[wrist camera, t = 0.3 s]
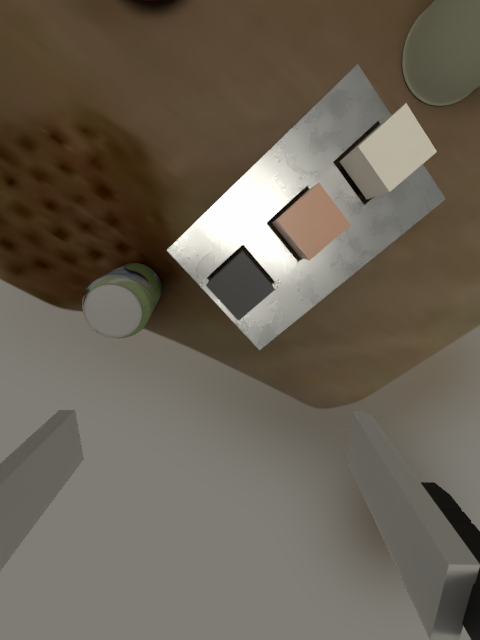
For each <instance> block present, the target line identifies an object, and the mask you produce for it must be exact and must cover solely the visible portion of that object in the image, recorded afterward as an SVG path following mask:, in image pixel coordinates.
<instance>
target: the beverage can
mask: <svg viewBox="0 0 480 640" xmlns="http://www.w3.org/2000/svg"><path fill="white" fill-rule="evenodd" d="M161 291H162V287H161V282H160V279H159V277H158V276H157V274H156V273H155V272H154V271H153V270H152V269H151V268H149V267H148V266H145V265H143V264H139V263H129V264H125V265H123V266H121V267H119V268H117V269H115V270H113V271H111V272H110V273H108V274H106V275H104V276H102V277H100V278H98V279H97V280H95V281H94V282H92V283H91V284H90V285H89V286H88V288H87V289H86V291H85V293H84V295H83V300H82V309H83V314H84V317H85V319H86V321H87V323H88V324H89V326H90V327H91V328H92V329H93V330H94V331H96V332H97V333H99V334H101V335H103V336H106V337H112V338H125V337H129V336H132V335H134V334H136V333H138V332H139V331H141V330H142V329H143V328H144V327H145V325H146V324H147V322H148V320H149V318H150V316H151V314H152V312H153V310H154V308H155V306H156V304H157V302H158V301H159V298H160V296H161Z"/></svg>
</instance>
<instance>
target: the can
mask: <svg viewBox="0 0 480 640" xmlns="http://www.w3.org/2000/svg"><path fill="white" fill-rule="evenodd" d="M402 70H403V76H404V79H405V82H406V84H407V86H408V88H409V90H410V91H411V93H412V94H413V95H414V96H415V97H416V98H417V99H419V100H420V101H422V102H423V103H426V104H429V105H433V106H445V105H450V104H453V103H456V102H458V101H460V100H462V99H463V98H465V97H466V96H468V95H469V94H470V93H471V92H472V91H474V90H475V89H476V88H477V87H479V86H480V0H434V1H433V3H432V4H431V5H430V6H429V7H428V8H427V9H426V10H425V11H424V12H423V13H422V14H421V15H420V16H419V17H418V19H417V20H416V21H415V23H414V24H413V26H412V28H411V29H410V31H409V33H408V36H407V38H406V41H405V44H404V49H403V54H402Z"/></svg>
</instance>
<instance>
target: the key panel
mask: <svg viewBox="0 0 480 640" xmlns="http://www.w3.org/2000/svg"><path fill="white" fill-rule="evenodd" d="M390 116H391V114H390V113H389V111H388V110H387V108H386V107H385V105H384V104H383V102H382V100H381V99H380V97H379V96H378V94H377V93H376V91H375V90H374V88H373V87H372V85H371V84H370V82H369V81H368V79H367V77H366V76H365V74H364V73H363V71H362V70H361V68H360V67H359V65H358V64H357V65H356V66H355V67H354V68H353V69H352V70H351V71H350V72H349V73H348V74H347V75H346V76H345V77H344V78H343V79H342V80H341V81H340V82H339V83H338V84H337V85H336V86H335V87H334V88H333V89H332V90H331V91H330V92H329V93H328V94H327V95H326V96H325V97H323V98H322V99H321V100H320V101H319V102H318V103H317V104H316V105H315V106H314V107H313V108H312V109H311V110H310V111H309V112H308V113H307V114H306V115H305V116H304V117H303V118H302V119H301V120H300V121H299V122H298V123H297V124H296V125H295V126H294V127H293V128H292V129H291V130H290V131H289V132H288V133H286V134H285V135H284V136H283V137H282V138H281V139H280V140H279V141H278V142H277V143H276V144H275V145H274V146H273V147H272V148H271V149H270V150H269V151H268V152H267V153H266V154H265V155H264V156H263V157H262V158H261V159H260V160H259V161H258V162H257V163H256V164H255V165H254V166H253V167H252V168H251V169H250V170H248V171H247V172H246V173H245V174H244V175H243V176H242V177H241V178H240V179H239V180H238V181H237V182H236V183H235V184H234V185H233V186H232V187H231V188H230V189H229V190H228V191H227V192H226V193H225V194H224V195H223V196H222V197H221V198H220V199H219V200H218V201H217V202H216V203H215V204H214V205H213V206H212V207H210V208H209V209H208V210H207V211H206V212H205V213H204V214H203V215H202V216H201V217H200V218H199V219H198V220H197V221H196V222H195V223H194V224H193V225H192V226H191V227H190V228H189V229H188V230H187V231H186V232H185V233H184V234H183V235H182V236H181V237H180V238H179V239H178V240H177V241H176V242H175V243H174V244H172V245H171V246H170V247H169V248H168V249H167V251H168V252H169V253H170V254H171V255H172V257H173V258H174V259H175V260H176V261H177V262H178V263H179V264H180V265H181V266H182V267H183V268H184V269H185V271H186V272H187V273H188V274H189V275H190V276H191V277H192V278H193V279H194V280H195V281H196V282H197V283H198V285H199V286H200V287H201V288H202V289H203V290H204V291H205V292H206V293H207V294H208V295H209V296H210V297H211V299H212V300H213V301H214V302H215V303H216V304H217V305H218V306H219V307H220V308H221V309H222V310H223V311H224V313H225V314H226V315H227V316H228V317H229V318H230V319H231V320H232V321H233V322H234V323H235V324H236V325H237V327H238V328H239V329H240V330H241V331H242V332H243V333H244V334H245V335H246V336H247V337H248V338H249V339H250V341H251V342H252V343H253V344H254V345H255V346H256V347H257V348H258V349H259V350H261V349H262V348H263V347H264V346H265V345H267V344H268V343H269V342H270V341H272V340H273V339H274V338H275V337H277V336H278V335H279V334H280V333H281V332H283V331H284V330H285V329H286V328H288V327H289V326H290V325H291V324H293V323H294V322H295V321H296V320H297V319H299V318H300V317H301V316H302V315H304V314H305V313H306V312H307V311H309V310H310V309H311V308H312V307H313V306H315V305H316V304H317V303H318V302H320V301H321V300H322V299H323V298H325V297H326V296H327V295H328V294H329V293H331V292H332V291H333V290H334V289H336V288H337V287H338V286H339V285H341V284H342V283H343V282H344V281H345V280H347V279H348V278H349V277H350V276H352V275H353V274H354V273H355V272H357V271H358V270H359V269H360V268H361V267H363V266H364V265H365V264H366V263H368V262H369V261H370V260H371V259H373V258H374V257H375V256H376V255H377V254H379V253H380V252H381V251H382V250H384V249H385V248H386V247H387V246H389V245H390V244H391V243H392V242H393V241H395V240H396V239H397V238H398V237H400V236H401V235H402V234H403V233H404V232H406V231H407V230H408V229H409V228H411V227H412V226H413V225H414V224H416V223H417V222H418V221H419V220H420V219H422V218H423V217H424V216H425V215H427V214H428V213H429V212H430V211H432V210H433V209H434V208H435V207H436V206H438V205H439V204H440V203H441V202H443V201H444V200H445V197H444V196H443V194H442V193H441V191H440V190H439V188H438V186H437V185H436V183H435V182H434V180H433V179H432V177H431V176H430V174H429V173H428V171H427V170H426V168H425V167H424V165H423V164H422V165H421V166H420V167H418V168H417V169H416V170H415V171H414V172H413V173H411V174H410V175H409V176H408V177H407V178H406V179H404V180H403V181H402V182H401V183H400V184H399V185H397V186H396V187H395V188H394V189H393V190H391V191H390V192H388V193H385V194H382V195H379V196H376V197H372V198H369V199H366V198H365V199H364V200H363V201H361V200H360V199H359V197H358V196H357V195H356V193H355V192H354V190H353V189H352V188H351V186H350V185H349V183H348V182H347V181H346V179H345V178H344V177H343V175H342V174H341V172H340V171H339V170H338V168H337V167H336V166H335V164H334V163H333V162H334V161H335V160H336V159H337V158H338V157H339V156H340V155H341V154H342V153H343V152H344V151H346V150H347V149H348V148H349V147H350V146H351V145H352V144H353V143H354V142H355V141H356V140H358V139H359V138H360V137H361V136H362V135H363V134H364V133H365V132H367V134H368V135H369V134H370V133H371V132H372V131H374V130H375V129H376V128H377V127H378V126H379V125H380V124H381V123H383V122H384V121H385V120H386V119H388V118H389V117H390ZM317 183H320V184H321V186H322V187H323V188H324V190H325V191H326V192H327V194H328V195H329V196H330V198H331V199H332V200H333V202H334V203H335V204H336V206H337V207H338V208H339V210H340V211H341V212H342V214H343V215H344V216H345V218H346V219H347V220H348V222H349V223H350V224H351V225H350V226H349V227H348V228H347V229H346V230H345V231H343V232H342V233H341V234H340V235H339V236H338V237H336V238H335V239H334V240H333V241H332V242H331V243H329V244H328V245H327V246H326V247H325V248H323V249H322V250H321V251H320V252H319V253H318V254H316V255H315V256H314V257H313V258H312V259H311V260H307V259H304V258H300V257H299V256H298V257H297V258H296V259H295V257H294V256H293V255H292V254H291V253H290V251H289V250H288V249H287V248H286V246H285V245H284V244H283V243H282V242H281V240H280V239H279V238H278V237H277V235H276V234H275V233H274V232H273V231H272V229H271V228H270V227H269V226H268V225H267V222H268V221H269V220H270V219H271V218H272V217H273V216H275V215H276V214H277V213H278V212H279V211H280V210H281V209H282V208H283V207H284V206H285V205H287V204H288V203H289V202H290V201H291V200H292V199H293V198H294V197H295V196H296V195H297V194H299V193H300V192H301V191H302V192H303V193H305V192H307V191H308V190H309V189H311V188H312V187H313V186H315V185H316V184H317ZM242 245H244V246H245V247H246V249H247V250H248V251H249V252H250V253H251V254H252V256H253V257H254V258H255V259H256V260H257V261H258V263H259V264H260V265H261V266H262V267H263V268H264V270H265V271H266V272H267V273H268V274H269V275H270V277H271V278H272V279H271V280H270V282H271V284H272V285H273V287H274V288H275V290H274V291H273V292H272V293H271V294H270V295H268V296H267V297H266V298H265V299H264V300H262V301H261V302H260V303H259V304H258V305H257V306H255V307H254V308H253V309H252V310H251V311H250V312H248V313H247V314H246V315H245V316H244V317H243V318H241V319H240V320H239V321H238V320H237V319H236V318H235V317H234V316H233V315H232V313H231V312H230V311H229V310H228V309H227V308H226V307H225V306H224V305H223V304H222V303H221V302H220V300H219V299H218V298H217V297H216V296H215V295H214V294H213V293H212V292H211V291H210V290H209V289H208V287H207V286H206V284H207V283H208V282H209V280H210V279H211V278H212V277H211V276H210V274H211V273H212V272H213V271H214V270H215V269H217V268H218V267H219V266H220V265H221V264H222V263H223V262H224V261H225V260H226V259H228V258H229V257H230V256H231V255H232V254H233V253H234V252H235V251H236V250H237V249H238V248H240V247H241V246H242Z"/></svg>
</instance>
